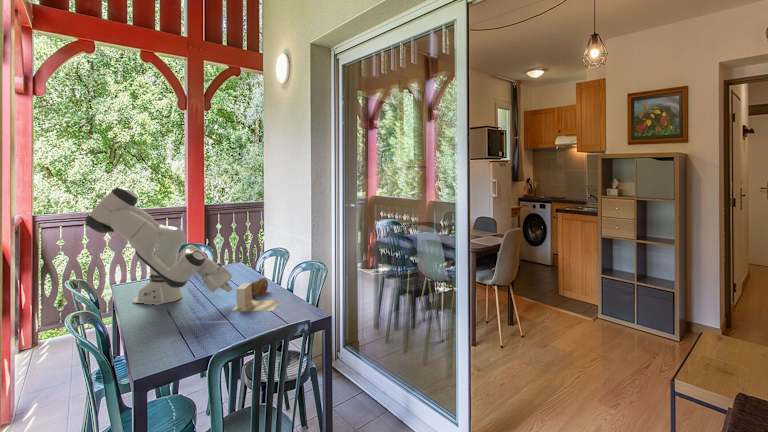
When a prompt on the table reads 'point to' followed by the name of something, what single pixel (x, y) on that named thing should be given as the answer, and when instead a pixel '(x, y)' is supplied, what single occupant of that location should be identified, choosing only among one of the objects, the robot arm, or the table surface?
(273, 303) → the board
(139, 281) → the table surface
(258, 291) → the tin
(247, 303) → the tile
